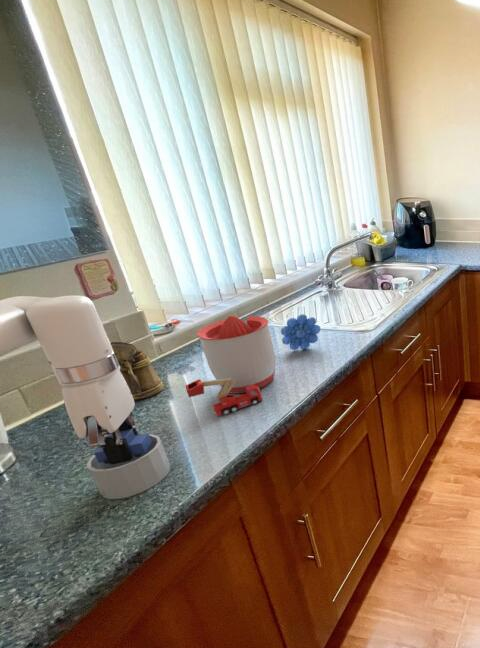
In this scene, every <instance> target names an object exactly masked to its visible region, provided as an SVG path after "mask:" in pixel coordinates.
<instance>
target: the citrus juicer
mask: <svg viewBox="0 0 480 648" xmlns="http://www.w3.org/2000/svg"><path fill="white" fill-rule="evenodd" d="M196 336H197V338H199V340H200V343H201V346H202V349H203V350H202V351H203V353H204V356H205V360H206V362H207V365H208V368H209V371H210V372H211V373H212V375H213V377H214V380H221V379H226V378H230V379H233V380H235V382H236V383H235V384H234V386H233V387H232V389H231V390H230V392H229V394H242V393H243V394H244V393H246V390H245V386H246V385H256V386H258V388H259V389H261V388H264V387H266V386H267V385H268V384H270V383H271V382H272V381H273V380H274V377H275V373H276V352H275V347H274V343H273V340H272V336H271V333H270V328H269V320H268V319H267V318H266V317H264V316H260V315H259V316H258V315H257V316H256V315H252V316H251V315H250V316H247V319H246V322H245V320H243V319H241V318H239V317H237V316H234V315H228V317H227V318H225V319H223V320H219V321H216V322H212V323H210V324H208V325H205V326H203V327H202V328H201V329H199V330H198V331H197V335H196ZM219 386H220V387H221V388H222V386H223V384H221V385H219Z"/></svg>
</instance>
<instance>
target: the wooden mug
mask: <svg viewBox="0 0 480 648" xmlns="http://www.w3.org/2000/svg"><path fill="white" fill-rule="evenodd" d="M110 344H111V346H112V349H113V351H114V354H115V356H116V358H117V361H118V363H119V365H120V372H121V374H122V375H123V377H124V379H125V381H126V383H127V385H128V387H129V389H130V391H131V394H132V396H133V399H134V402H136V401H141V400H145V399H149V398H151V397H153V396H156V395H157V394H159V393H161V392H162V391H163V390H164V389H165V385H164V384H163V381H162V380H161V379H160V378H159V376H158V373H157V372H156V371H155V369H154V368H153V366H152V364H151V359H150V358H149V355H147V354H146V353H145V352H144V350H141V349H137V347H136V346H135V345H134V344H133V343H130V342H120V341H111V342H110Z"/></svg>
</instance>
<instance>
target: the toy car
mask: <svg viewBox="0 0 480 648" xmlns="http://www.w3.org/2000/svg"><path fill="white" fill-rule="evenodd" d="M120 435H121V437H122V441H126V442H127V444H128V447H129V449H130V451H131V453H132V455H134V456H135V457H140V456H141V455H142V453H145V452H146V451H147V449H148V447H149V446H150V444H151V443H152V441H151V438H150V436H149V432H145V433H140V434H138V435H135V434H134V432H133V430H132V429H130V430H125V431H120ZM105 437H113V435H112V433H111V434H106V435H105ZM93 455H95V456H96V458H97V460H98V463H100V462H103V463H105V464H109V461H108V459H107V457H106V455H105V453H104V451H103V449H101V448H100V447H99V446H98V447H97V449H96V450H94V452H93Z"/></svg>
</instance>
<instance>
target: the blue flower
mask: <svg viewBox="0 0 480 648" xmlns="http://www.w3.org/2000/svg"><path fill="white" fill-rule="evenodd" d="M320 332H321V326H320V325H318V324H317V319H316V318H315V317H314V316H310V317H307V315H306V314H304V313H301V314H299V315H297V316H296V318H295V317H289V319H287V321H286V325H285V326H283V327H282V328H281V330H280V333H281V335H282V336H283V337H282V339H281V342H282V344H283V345H285V346H288V345H289V349H291V350H292V351H297V350H298V349H299V348H300V349H301V350H307V349H308V348H309V347H310V345H311V344H315V343H317V342H318V340H319V336H318V334H320Z"/></svg>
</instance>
